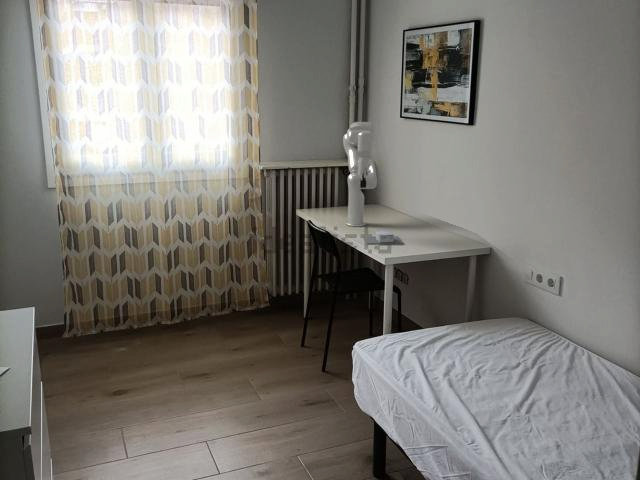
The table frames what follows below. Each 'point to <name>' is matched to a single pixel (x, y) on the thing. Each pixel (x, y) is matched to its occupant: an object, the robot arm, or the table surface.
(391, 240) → the medicine box
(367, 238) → the rubber mat
